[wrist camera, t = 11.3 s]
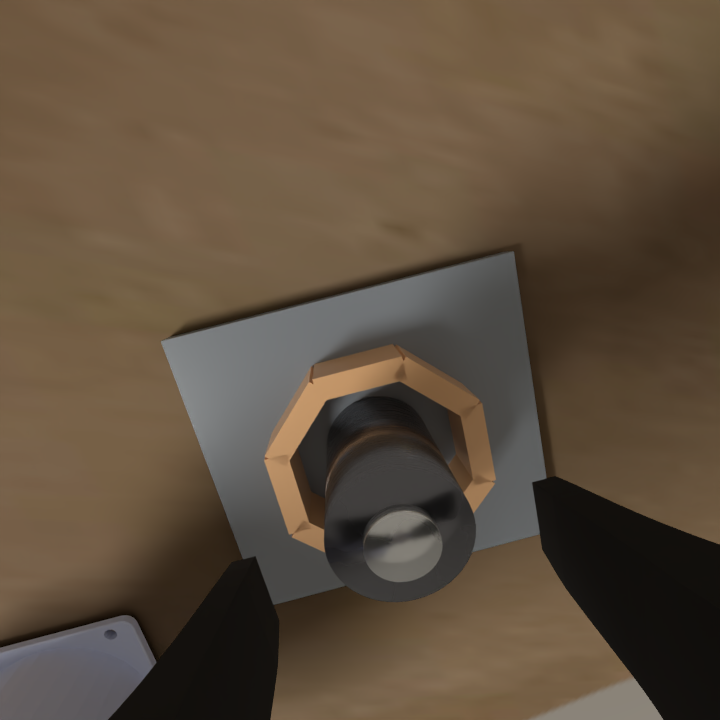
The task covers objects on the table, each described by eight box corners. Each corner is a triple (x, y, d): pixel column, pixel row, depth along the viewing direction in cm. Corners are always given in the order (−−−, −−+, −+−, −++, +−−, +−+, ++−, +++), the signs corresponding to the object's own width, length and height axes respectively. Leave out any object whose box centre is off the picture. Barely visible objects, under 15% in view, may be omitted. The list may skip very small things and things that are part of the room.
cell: (341, 500, 17) (345, 630, 11) (315, 410, 16) (304, 499, 10) (437, 476, 17) (492, 592, 11) (416, 384, 16) (466, 458, 10)
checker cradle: (264, 593, 18) (253, 651, 16) (169, 336, 15) (135, 353, 13) (544, 519, 19) (581, 563, 16) (504, 251, 16) (541, 250, 13)
